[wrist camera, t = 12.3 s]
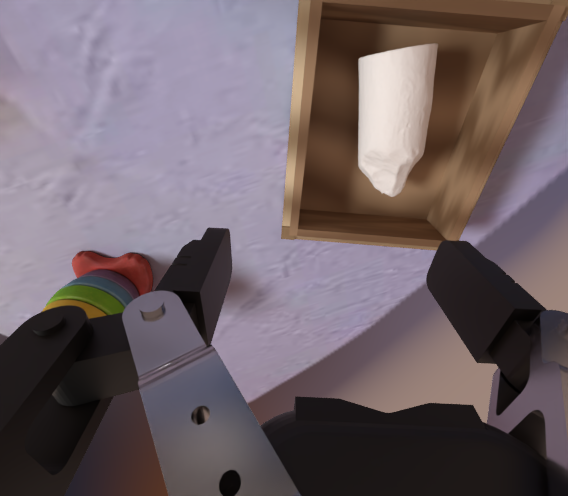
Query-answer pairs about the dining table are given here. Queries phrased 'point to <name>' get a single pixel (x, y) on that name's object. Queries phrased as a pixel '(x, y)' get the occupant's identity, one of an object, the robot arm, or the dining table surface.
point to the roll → (394, 113)
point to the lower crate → (295, 118)
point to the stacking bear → (104, 283)
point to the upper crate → (442, 123)
